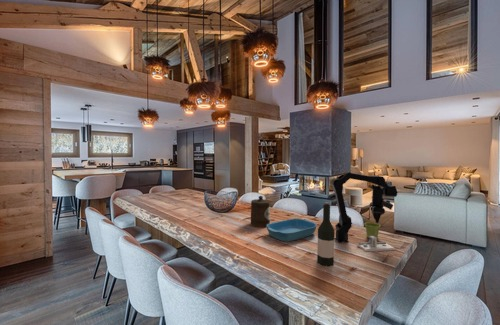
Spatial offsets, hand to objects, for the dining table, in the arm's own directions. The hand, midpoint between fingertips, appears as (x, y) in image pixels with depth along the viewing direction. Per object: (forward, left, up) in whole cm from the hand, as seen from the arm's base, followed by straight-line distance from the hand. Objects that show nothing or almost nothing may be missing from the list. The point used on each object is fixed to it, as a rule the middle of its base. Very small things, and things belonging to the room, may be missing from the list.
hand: (376, 221), depth 146 cm
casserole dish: (-48, +18, -14) cm, 53 cm away
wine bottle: (-44, -24, -13) cm, 52 cm away
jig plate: (-6, -9, -13) cm, 17 cm away
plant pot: (+3, +7, -14) cm, 16 cm away
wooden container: (-65, +43, -14) cm, 79 cm away
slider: (-8, -9, -12) cm, 17 cm away
